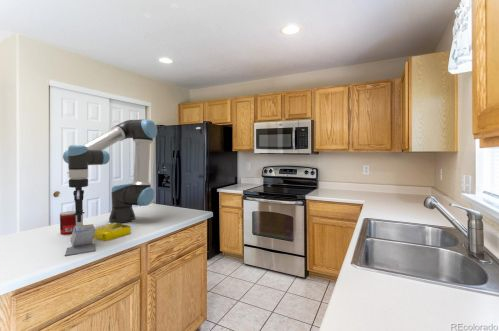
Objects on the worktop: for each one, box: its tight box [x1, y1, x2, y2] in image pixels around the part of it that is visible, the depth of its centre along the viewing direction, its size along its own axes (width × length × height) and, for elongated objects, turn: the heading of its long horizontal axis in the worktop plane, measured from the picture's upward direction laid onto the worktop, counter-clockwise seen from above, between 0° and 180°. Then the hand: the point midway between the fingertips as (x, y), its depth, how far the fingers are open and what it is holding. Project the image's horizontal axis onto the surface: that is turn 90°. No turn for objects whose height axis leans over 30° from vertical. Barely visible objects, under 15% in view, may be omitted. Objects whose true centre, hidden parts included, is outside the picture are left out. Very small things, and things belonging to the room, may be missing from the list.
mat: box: [64, 243, 96, 257], centre depth 113 cm, size 11×10×1 cm
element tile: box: [93, 223, 132, 242], centre depth 134 cm, size 15×15×5 cm
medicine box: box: [69, 224, 96, 247], centre depth 118 cm, size 8×4×9 cm, turn 140°
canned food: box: [59, 210, 76, 236], centre depth 137 cm, size 8×8×11 cm
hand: (79, 228), depth 119 cm, fingers closed
